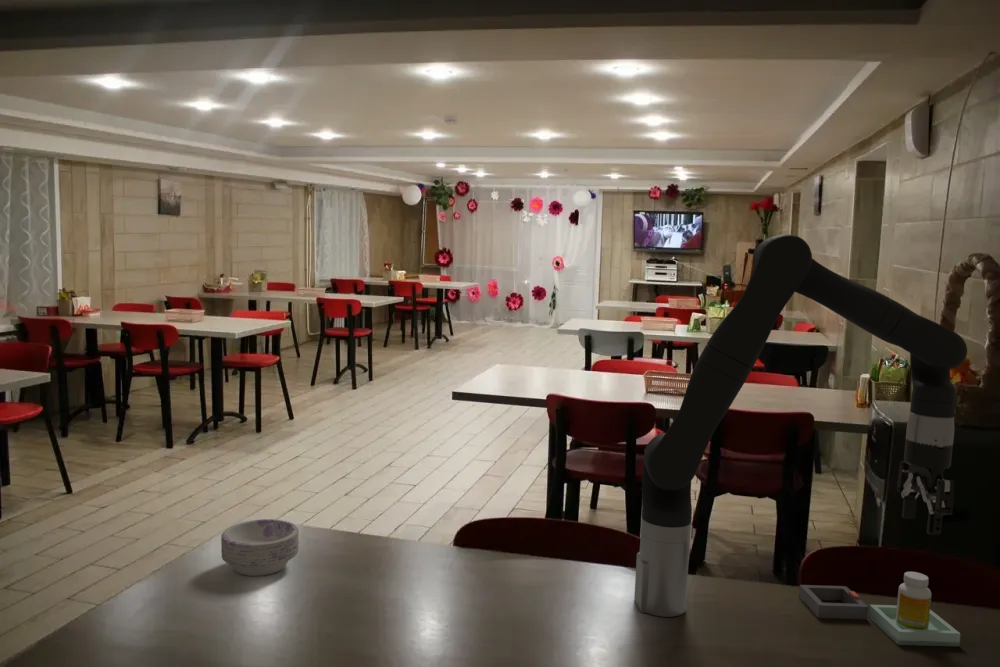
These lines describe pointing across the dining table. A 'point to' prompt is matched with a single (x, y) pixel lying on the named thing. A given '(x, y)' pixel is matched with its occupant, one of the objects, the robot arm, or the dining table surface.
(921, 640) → the tray
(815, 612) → the socket collar
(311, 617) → the dining table surface
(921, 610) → the supplement bottle
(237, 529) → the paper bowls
